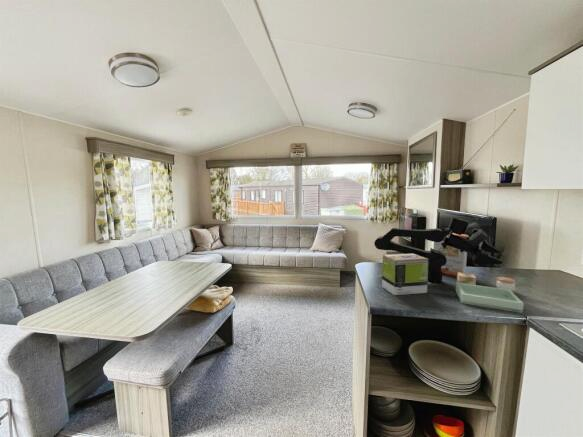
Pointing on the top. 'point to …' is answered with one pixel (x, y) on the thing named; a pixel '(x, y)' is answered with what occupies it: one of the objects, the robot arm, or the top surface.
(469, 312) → the top surface
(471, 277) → the oak block
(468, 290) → the green tote
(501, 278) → the cream tub
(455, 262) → the cracker box
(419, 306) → the top surface
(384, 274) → the tea box
